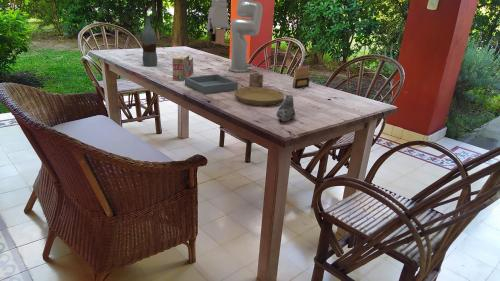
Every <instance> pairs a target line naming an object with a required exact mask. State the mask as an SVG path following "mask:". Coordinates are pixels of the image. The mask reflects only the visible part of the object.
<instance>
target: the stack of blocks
mask: <svg viewBox="0 0 500 281" xmlns="http://www.w3.org/2000/svg"><path fill="white" fill-rule="evenodd" d="M193 73H194V58H193V57H190V54H181V53H180V54H177V55H176V56H174V57H172V81H179V82H180V81H183V82H185V78H186V77H191V75H192V74H193Z"/></svg>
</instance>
